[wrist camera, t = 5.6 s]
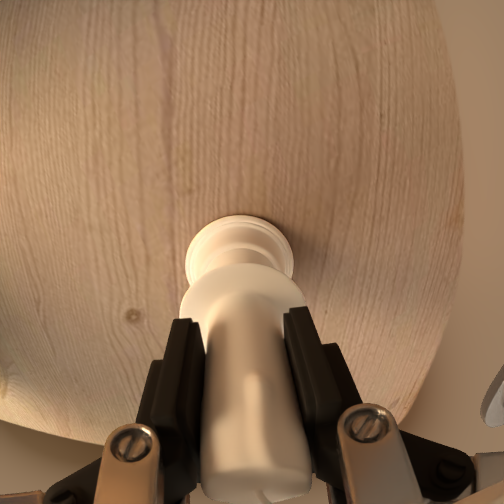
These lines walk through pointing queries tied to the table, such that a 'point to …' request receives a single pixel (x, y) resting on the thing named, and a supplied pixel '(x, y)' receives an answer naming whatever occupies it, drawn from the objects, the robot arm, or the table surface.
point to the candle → (246, 363)
